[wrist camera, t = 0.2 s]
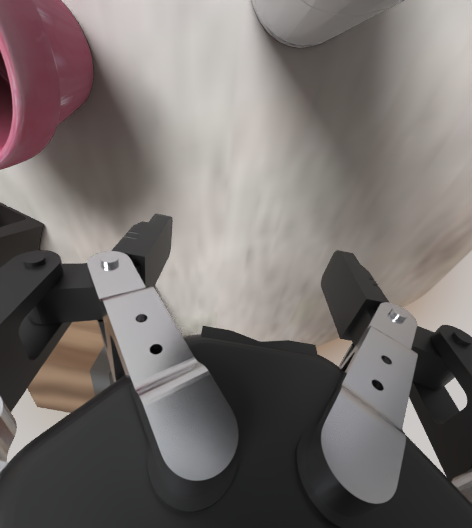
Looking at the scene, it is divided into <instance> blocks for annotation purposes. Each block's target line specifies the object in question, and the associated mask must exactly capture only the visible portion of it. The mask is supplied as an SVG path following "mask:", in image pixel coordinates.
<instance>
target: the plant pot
mask: <svg viewBox="0 0 472 528" xmlns="http://www.w3.org/2000/svg"><path fill="white" fill-rule="evenodd" d="M92 84H93V61H92V56H91V52H90V49H89V46H88V43H87V40H86V38H85V36H84V33H83V31H82V29H81V27H80V26H79V24H78V22H77V20H76V19H75V17H74V16H73V14H72V13H71V12H70V10H69V9H68V8H67V7H66V5H65V4H64V3H63V2H62V1H61V0H0V170H1V169H4V168H7V167H10V166H13V165H16V164H18V163H21V162H23V161H26V160H28V159H30V158H32V157H34V156H35V155H37V154H38V153H39V152H41V151H42V150H43V149H44V148H45V147H46V145H47V144H48V143H49V142H50V140H51V138H52V137H53V135H54V132H55V130H56V127H57V125H58V124H60V123H61V122H62V121H64V120H65V119H66V118H67V117H68V116H70V115H71V114H72V113H73V112H74V111H75V110H76V109H78V108H79V107H80V106H81V105H82V104H83V103H84V102H85V101H86V100H87V98H88V96H89V94H90V91H91V88H92Z"/></svg>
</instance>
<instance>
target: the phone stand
mask: <svg viewBox="0 0 472 528" xmlns="http://www.w3.org/2000/svg"><path fill="white" fill-rule="evenodd" d="M42 229H43V223H41V222H39V221H37V220H35V219H33V218H31V217H29V216H27V215H25V214H23V213H21V212H19V211H17V210H15V209H13V208H11V207H6V205H4V204H2V203H0V268H1V267H2V266H3V265H5V264H6V263H7V262H8V261H10V260H11V259H12V258H14V257H15V256H17V255H20V254H22V253H26V252H30V251H38V250H39V244H40V239H41V234H42Z"/></svg>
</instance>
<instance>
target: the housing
mask: <svg viewBox="0 0 472 528" xmlns="http://www.w3.org/2000/svg"><path fill="white" fill-rule="evenodd" d="M113 383H114V380H113V376H112V373H111V368H110V364H109V359H108V356H107V353H106V349H105V346H104V343H103V340H102V337H101V333H100V330H99V327H98V324H97V320H92V321H79V322H72V323H71V325H70V326H69V327H68V329H67V330H66V332H65V333H64V335H63V336H62V338H61V339H60V341H59V342H58V344H57V345H56V347H55V348H54V349H53V351H52V352H51V354H50V355H49V357H48V358H47V360H46V361H45V363H44V364H43V366H42V367H41V369H40V370H39V372H38V373H37V374H36V376H35V377H34V379H33V380H32V382H31V383H30V385H29V386H28V390H29V392H30V394H31V396H32V398H33V400H34V401H35V403H36V405H37V407H41V408H47V409H53V410H58V411H64V412H70V413H72V412H73V411H75V410H76V409H77V408H79V407H80V406H82V405H83V404H84V403H86V402H87V401H89V400H90V399H91V398H93V397H94V396H96V395H97V394H99V393H100V392H101V391H103V390H104V389H106V388H107V387H108V386H110V385H111V384H113Z"/></svg>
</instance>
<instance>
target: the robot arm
mask: <svg viewBox="0 0 472 528" xmlns="http://www.w3.org/2000/svg"><path fill="white" fill-rule="evenodd" d="M251 1H252V4H253V8H254V10H255V12H256V14H257V17H258V19H259V21H260V23H261V24H262V25H263V27H264V28H265V29H266V31H267V32H268V33H269V34H270V35H271V36H272V37H274V38H275V39H276V40H277V41H279V42H281V43H283V44H285V45H287V46H291V47H297V48H304V47H312V46H315V45H319V44H320V43H323V42H325V41H327V40H329V39H331V38H333V37H335V36H337V35H339V34H341V33H343V32H345V31H347V30H348V29H350V28H352V27H354V26H356V25H358V24H360V23H362V22H364V21H366V20H368V19H369V18H371V17H373V16H375V15H377V14H379V13H381V12H383V11H385V10H387V9H389V8H390V7H392V6H394V5H396V4H398V3H400V2H402V1H404V0H251ZM171 237H172V217H170V216H165V215H160V214H155V215H154V216H153V217H152V219H151V220H150V221H149V222H140V223H138V224H136V225H134V226H133V227H132V228H131V229H130V230H129V232H127V234H126V235H125V236H124V237H123V238H122V239H121V240H120V242H119V243H118V244H117V245H116V246H115V247H114V248H113V250H112V251H105V252H101V253H97V254H95V255H93V256H92V257H91V258H90V259H89V260H88V262H87V263H84V264H62V263H61V259H60V256H59V255H58V254H56V253H54V252H51V251H44V250H38V251H30V252H26V253H22V254H20V255H17V256H15V257H14V258H12V259H11V260H10V261H8V262H7V263H6V264H5V265H3V266H2V267H1V268H0V528H472V337H471V336H470V335H468V334H467V333H465V332H463V331H462V330H460V329H457V328H455V327H453V326H449V325H442V326H441V327H440V328H438V329H437V331H436V332H435V333H434V332H431V331H429V330H427V329H424V328H421V327H419V326H417V322H416V319H415V318H414V317H413V316H412V315H411V314H410V313H409V312H408V311H407V310H405V309H404V308H402V307H400V306H398V305H396V304H393V303H389V301H388V300H387V298H386V297H385V295H384V294H383V292H382V291H381V289H380V288H379V287H378V285H377V283H376V282H375V281H374V279H373V277H372V276H371V274H370V273H369V272H368V271H367V270H366V269H365V268H364V267H363V266H362V265H360V263H359V262H358V260H357V259H356V257H355V255H354V254H353V253H348V252H343V251H335V252H334V254H333V256H332V258H331V260H330V262H329V264H328V266H327V268H326V270H325V272H324V274H323V276H322V280H321V287H322V290H323V293H324V295H325V298H326V301H327V304H328V306H329V309H330V312H331V315H332V317H333V320H334V323H335V326H336V328H337V331H338V334H339V337H340V339H345V340H352V342H353V344H352V345H351V346H350V348H349V349H348V351H347V353H346V355H345V356H344V358H343V360H342V362H341V363H340V365H339V367H338V366H336V365H335V364H334V363H332V362H330V361H329V360H327V359H326V358H324V357H322V356H320V355H317V351H316V347H315V345H312V344H306V343H300V342H295V341H289V340H287V341H269V342H260V341H256V340H254V339H251V338H249V337H246V336H244V335H241V334H239V333H236V332H233V331H230V330H224V329H219V328H213V327H207V326H203V328H202V333H201V335H192V336H187V337H183V336H182V335H181V333H180V331H179V330H178V328H177V326H176V324H175V323H174V321H173V319H172V317H171V316H170V314H169V312H168V311H167V309H166V307H165V305H164V304H163V302H162V300H161V299H160V297H159V295H158V293H157V292H156V290H155V288H154V286H155V284H156V282H157V280H158V278H159V276H160V274H161V272H162V269H163V267H164V265H165V263H166V261H167V259H168V257H169V254H170V249H171ZM92 320H97V324H98V327H99V330H100V333H101V337H102V340H103V343H104V346H105V349H106V353H107V356H108V359H109V364H110V368H111V373H112V376H113V380H114V383H113V384H111V385H110V386H108V387H107V388H106V389H104V390H103V391H101V392H100V393H99V394H97V395H96V396H94V397H93V398H91V399H90V400H89V401H87V402H86V403H84V404H83V405H82V406H80V407H79V408H77V409H76V410H75V411H73V412H72V413H70V414H69V415H67V416H66V417H65V418H63V419H62V420H60V421H59V422H58V423H56V424H55V425H53V426H52V427H51V428H49V429H48V430H47V431H45V432H43V433H42V434H41V435H39V436H38V437H37V438H35V439H34V440H33V441H31V442H30V443H29V444H27V445H26V446H25V447H24V448H23V449H22V450H21V451H19V452H18V453H17V454H16V456H14V457H13V459H12V460H11V461H10V462H9V463H7V454H8V450H9V448H10V445H11V443H12V441H13V439H14V437H15V433H16V428H17V426H16V421H15V419H14V417H13V415H12V414H11V411H12V409H13V408H14V407H15V405H16V404H17V402H18V401H19V399H20V398H21V396H22V395H23V394H24V392H25V391H26V389H27V388H28V386H29V385H30V383H31V382H32V380H33V379H34V377H35V376H36V374H37V373H38V372H39V370H40V369H41V367H42V366H43V364H44V363H45V361H46V360H47V358H48V357H49V355H50V354H51V352H52V351H53V349H54V348H55V347H56V345H57V344H58V342H59V341H60V339H61V338H62V336H63V335H64V333H65V332H66V330H67V329H68V327H69V326H70V325H71V323H72V322H79V321H92ZM454 377H455V378H456V379H457V381H458V382H459V384H460V385H461V387H462V388H463V390H464V391H465V393H466V395H467V406H466V407H465V408H464V409H463V410H461V411H459V410H458V408H457V407H456V405H455V403H454V402H453V400H452V398H451V397H450V395H449V393H448V392H447V390H446V389H445V387H444V386H445V385H446V384H447V383H448V382H450V381H451V380H452V379H453V378H454ZM409 397H410V400H411V402H412V404H413V406H414V408H415V410H416V412H417V415H418V417H419V419H420V421H421V423H422V425H423V427H424V429H425V432H426V434H427V436H428V438H429V440H430V442H431V444H432V447H433V449H434V451H435V453H436V455H437V457H438V459H439V462H440V464H441V466H442V468H443V470H444V472H445V474H446V476H445V475H444V474H443V473H442V472H441V471H440V470H439V469H438V468H437V467H436V466H435V465H434V464H433V463H432V462H431V461H430V460H429V459H428V458H427V457H426V456H425V455H424V454H423V452H422V451H421V450H420V449H419V448H418V447H417V446H416V445H415V444H414V443H413V442H412V441H411V440H410V439H409V438H408V437H407V436H406V435H405V433H404V432H403V430H402V427H403V422H404V417H405V412H406V408H407V402H408V398H409Z"/></svg>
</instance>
